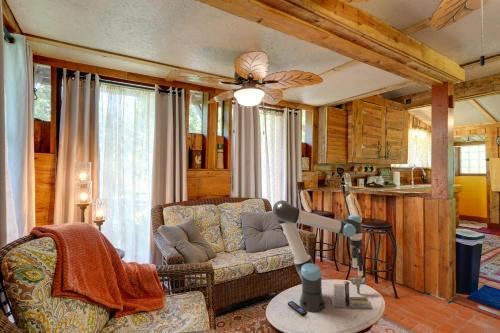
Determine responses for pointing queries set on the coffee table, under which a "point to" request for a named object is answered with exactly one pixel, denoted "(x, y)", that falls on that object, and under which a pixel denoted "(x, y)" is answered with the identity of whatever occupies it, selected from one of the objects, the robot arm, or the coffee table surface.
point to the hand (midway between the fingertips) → (357, 271)
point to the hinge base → (350, 305)
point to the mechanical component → (357, 282)
